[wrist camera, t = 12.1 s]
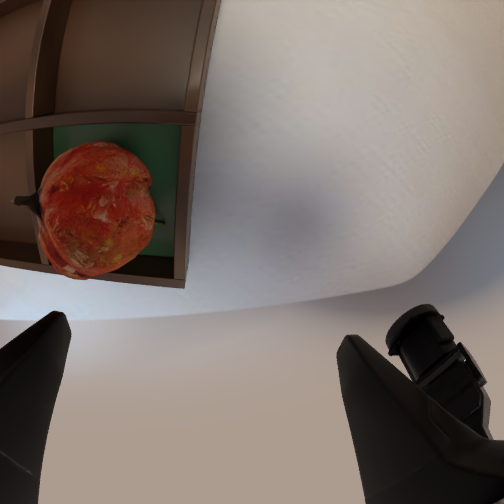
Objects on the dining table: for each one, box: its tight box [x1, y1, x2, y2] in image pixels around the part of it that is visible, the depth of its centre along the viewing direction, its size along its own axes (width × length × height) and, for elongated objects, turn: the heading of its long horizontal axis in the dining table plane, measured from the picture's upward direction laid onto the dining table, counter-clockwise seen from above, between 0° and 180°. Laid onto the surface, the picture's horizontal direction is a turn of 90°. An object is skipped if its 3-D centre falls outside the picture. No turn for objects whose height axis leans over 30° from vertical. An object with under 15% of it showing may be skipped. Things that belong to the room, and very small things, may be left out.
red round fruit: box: [10, 141, 165, 280], centre depth 13 cm, size 7×7×10 cm
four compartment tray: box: [0, 0, 221, 289], centre depth 12 cm, size 20×20×3 cm
